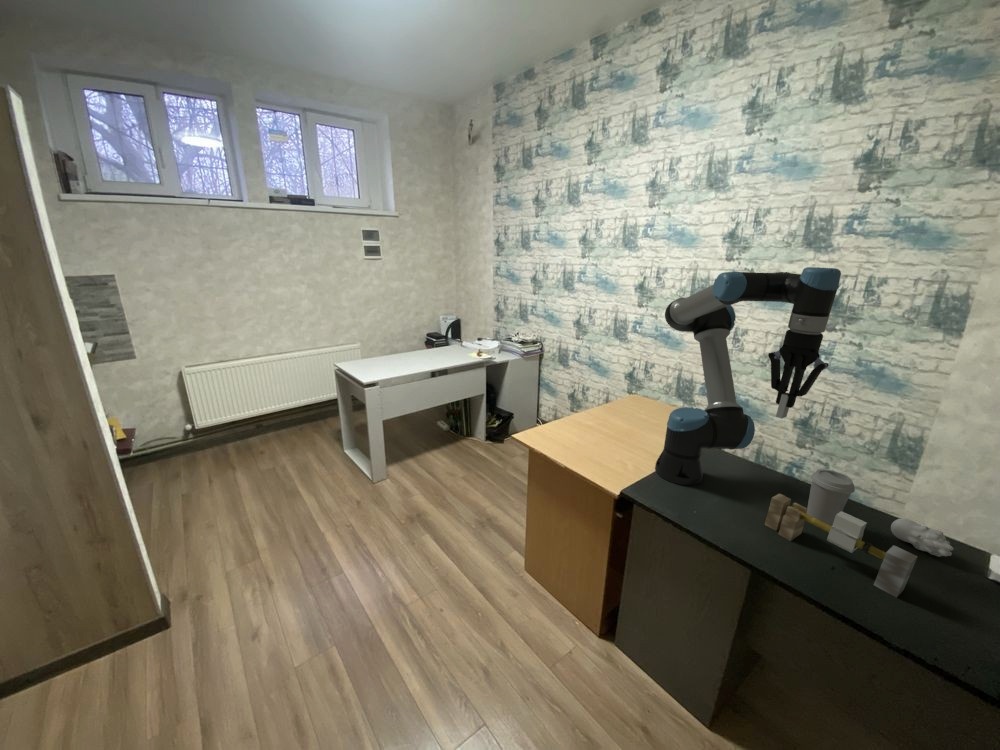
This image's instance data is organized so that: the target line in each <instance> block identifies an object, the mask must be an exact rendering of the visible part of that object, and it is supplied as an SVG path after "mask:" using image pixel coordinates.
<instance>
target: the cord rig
mask: <svg viewBox="0 0 1000 750" xmlns="http://www.w3.org/2000/svg"><path fill="white" fill-rule="evenodd" d="M791 502H792V498H790V497H787V496H786V495H784V494H782V493H777V494H776V495H774V496H772V497H771V500H770V504H769V507H768V511H767V514H766V517H765V522H764V525H765V526H766V527H768V528H770V529H772V530H774V531H775V532H777V531H778V535H779V536H780V537H782V538H784V539H786V540H788V541H790V542H791V541H793V540H794V539H796V538H798V536H800V535H801V534H802V532H803V530H804V525H805V523H808V524H811V525H812V524H813V525H812V526H814V525H815V526H814V527H816V526H817V528H818V529H821V530H823V531H824V532H826V533H828V534H829V532H830V529H831V526H830V525H828V524H826V523H824V522H822V521H820V520H818V519H816V518H814V517H812V516H810V515H808V514H806V513H807V509H808V508H807V507H806V506H803V505H802V504H800V503H797V502H793V503H792V506H790V504H791ZM855 546H856V547H858V548H859V549H860V550H861V551H862V552H863V553H866V554H867V555H868V554H871V555H873V556H875V557H877V558H879V559H880V560H882V562H881V564H880V568H879V570H878V571H877V572H878V573H877V576H876V578H875V580H874V583H873V586H875V588H878V589H880V590H882V591H883V592H885V593H886V594H889V595H890V596H893V597H894V598H896V599H897V598H898V597H899V596H900V595H901V594H902V592H903V591H904V590H905V588H906V585H907V583H908V580H909V577H910V576H911V573H912V571H913V568H914V566H915V565H916V562H917V559H918V555H916V554H913V553H911V552H909V551H907V550H905V549H903V548H900V547H899V546H896V545H892V546H891V547H890V548H889V549H888V550H887V551H886V552H885V551H884V550H881V549H879V548H877V547H875V546H873V544H872V543H870V542H868V541H864V540H863V541H862V540H859V539H858V540H857V541H856V544H855ZM858 548H857V549H858Z"/></svg>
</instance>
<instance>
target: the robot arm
mask: <svg viewBox="0 0 1000 750" xmlns="http://www.w3.org/2000/svg"><path fill="white" fill-rule="evenodd" d="M841 276H842V271H841V270H840V269H838V268H837V267H836V268H834V267H816V266H815V267H814V266H813V267H812V266H809V267H804V268H803V269H802V271H801V273H792V272H789V271H777V272H752V271H751V272H749V271H746V272H745V271H735V270H734V271H727V272H725V271H724V272H721V273H719V274H718V275H717V276H716V278H715V280H714V281H713V284H711V285H709V286H708V287H706V288H704V289H701V290H699V291H698V292H695V293H693V294H691V295H689V296H687V297H679V298H676V299H675V300H673V301H671V302H670V303H669V304H668V305H667V306H666V308H665V311H664V317H665V318H664V319H665V321H666V324H667V325H668V326H670V328H672V329H674V330H675V331H678V332H683V333H684V332H685V333H693V338H694V340H695V341H696V342H697V343H699V348H700V357H701V363H702V370H703V378H704V387H705V393H706V399H707V406H706V408H704V409H702V408H698V407H696V408H695V407H693V406H692V407H691V406H687V407H686V406H684V407H678V408H675V409H674V410H672V411H671V412H670V413H669V416H668V420H667V422H666V432H665V439H664V445H663V449H662V451H661V453H660V454H659V456H658V458H657V460H656V462H655V466H654V470H655V472H656V474H657V475H658V476H659V477H661V479H664V480H666V481H668V482H670V483H673V484H677V485H680V486H681V485H683V486H695V485H698V484H700V483H701V482H702V481H703V476H704V471H703V465H702V459H701V456H702V451H703V450H705V449H709V450H710V449H711V450H712V449H713V450H715V449H719V450H741V449H745V448H747V447H748V446H750V445H751V443H752V441H753V440H754V436H755V431H756V430H755V429H756V428H755V427H756V426H755V422H754V419H752V417H751V416H750V415H749V414H747V413H744V412H745V411H744V409H743V406H742V405H740V404H738V403H737V398H736V396H737V395H736V391H735V385H734V384H735V383H734V378H733V373H732V366H731V361H730V354H729V353H730V352H729V348H728V343H727V342H728V341H727V338H728V337H729V336H730V334H731V331H732V330H733V329H734V327H735V324H736V323H735V322H736V317H737V316H736V311H735V309H734V307H733V306H732V305H735V304H738V303H740V302H770V303H771V302H773V303H775V302H776V303H777V302H778V303H780V302H781V303H788V304H792V309H791V312H790V315H789V316H790V317H789V321H788V325H787V328H788V329H787V330H786V331H785V335H784V340H783V344H782V346H781V347H780V348H779V350H776V351H772V352H769V353H768V354H767V355H768V358H769V361H770V384H771V386H770V388H771V389H772V390H775V391H776V392H777V395H776V400H775V403H776V405H778V407H777V411H776V415H775V417H776V418H777V419H778V418H779V419H782V420H783V419H784V418H786V417H788V413H789V409H790V408H793V407H794V406H795V403H796V400H797V397H803V396H806V395H807V394H808V393H809V391H811V388H812V386H813V385H814V384H815V382H816V380H817V379H818V378H819V375H820V374H822V373H821V372H822V371H824V370H825V369H827V368H828V367H829V366H830V365H829V363H828V362H824V361H823V360H822V359H821V358H820V349H821V345H822V342H823V338H824V335H823V333H824V332H826V329H827V325H828V321H829V318H830V314H831V311H832V308H833V305H834V302H835V298H836V295H837V291H838V289H839V287H840V285H839V284H840V281H841ZM781 358H782V360H783V362H784V364H783V371H782V373H781ZM812 364H813V369H812V370H810V371H811V372H810V373H809V375H808V376H807V378H806V379H805V381H804V382H803V379H804V375H805V372H806V371H807V367H809V366H811V365H812ZM793 371H794V374H793ZM792 375H793V377H792ZM791 379H792V382H791ZM790 382H791V385H790ZM802 383H803V384H802ZM789 385H790V389H789ZM801 385H802V386H801Z"/></svg>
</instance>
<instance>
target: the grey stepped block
mask: <svg viewBox="0 0 1000 750" xmlns="http://www.w3.org/2000/svg"><path fill="white" fill-rule="evenodd" d="M867 524H868V522H866V521H864V520H862V519H860V518H857V517H855V516H853V515H851V514H849V513H846V512H844V511H843V510H842V511H841V512H839V513H838V514H836V516H835V519H834V522H833V525H832V526H831V529H830V532H829V533H828V535H827V538H826V541H827V542H829V543H831V544H833V545H834V546H836V547H839V548H840V549H842V550H845V551H847V552H849V553H851V554H853V553H854V551H856V550H857V549H858V547H856V546H855V544H856V541H857V540H858V539H859V540H861V541H862V539H863V536H864V534H865V533H864V532H865V530H866V527H867Z"/></svg>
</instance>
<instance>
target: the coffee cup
mask: <svg viewBox="0 0 1000 750" xmlns="http://www.w3.org/2000/svg"><path fill="white" fill-rule="evenodd" d="M810 479H811V484H810V489H809V496H808V497H809V498H808V503H807V507H806V508H808V509H807V512H806V514H808V515H810V516H812V517H814V518H816V519H818V520H820V521H822V522H824V523H826V524H828V525H830V526H832V525H833V522H834V519H835V516H836V514H838V513H839V512H841V511H842V512H843V511H844V508H845V506H846V505H847V503H848V500H849V498H850V496H851V494H852V493H854V492H855V490H856V488H855V485H854V482H853V480H852V478H851V477H849V476H847V475H846V474H843V473H841V472H839V471H835V470H831V469H825V468H823V469H822V468H821V469H817V470H816V471H815V472H812V474H811V475H810ZM811 525H812V526H814V527H817V526H815V525H813V524H811ZM817 528H818V527H817Z"/></svg>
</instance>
